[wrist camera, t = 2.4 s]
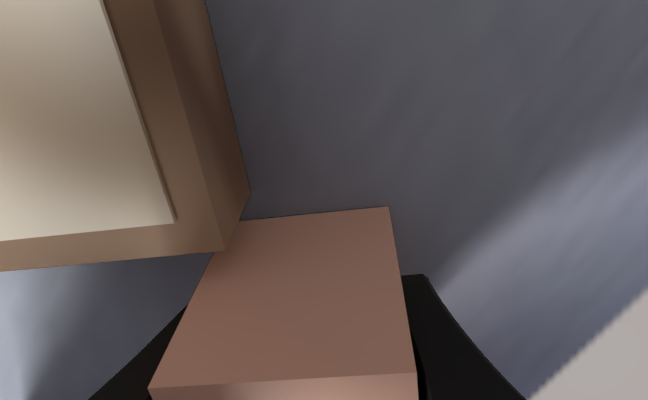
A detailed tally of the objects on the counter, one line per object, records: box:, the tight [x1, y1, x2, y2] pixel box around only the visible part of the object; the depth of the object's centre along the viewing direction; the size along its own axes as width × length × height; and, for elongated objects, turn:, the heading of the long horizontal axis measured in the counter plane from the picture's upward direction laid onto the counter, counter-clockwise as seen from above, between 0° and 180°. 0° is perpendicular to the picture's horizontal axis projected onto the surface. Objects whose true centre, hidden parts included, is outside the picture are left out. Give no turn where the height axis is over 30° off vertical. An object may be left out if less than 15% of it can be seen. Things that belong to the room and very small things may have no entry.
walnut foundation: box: [0, 0, 251, 272], centre depth 8 cm, size 6×6×3 cm
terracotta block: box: [148, 206, 419, 400], centre depth 10 cm, size 4×4×5 cm
